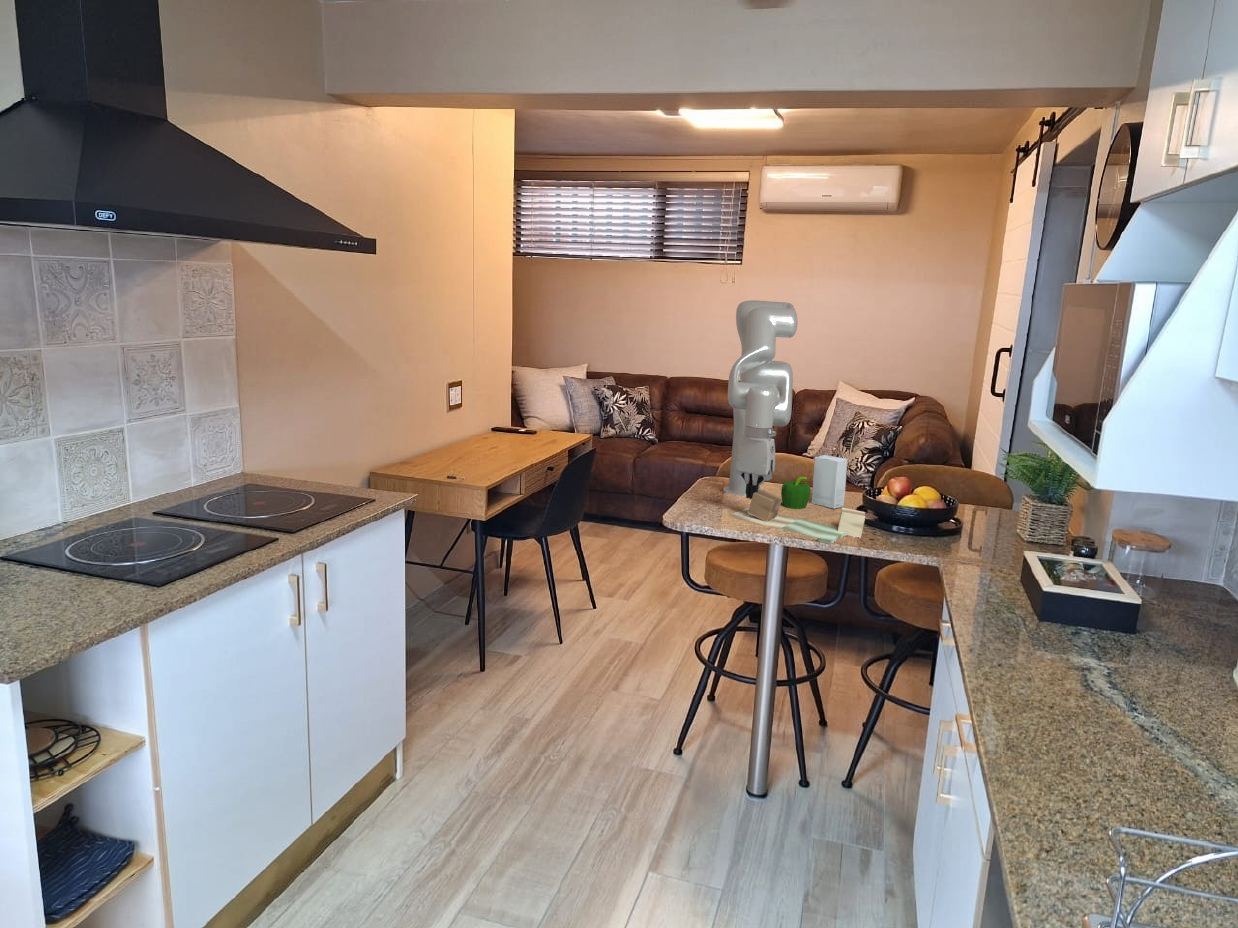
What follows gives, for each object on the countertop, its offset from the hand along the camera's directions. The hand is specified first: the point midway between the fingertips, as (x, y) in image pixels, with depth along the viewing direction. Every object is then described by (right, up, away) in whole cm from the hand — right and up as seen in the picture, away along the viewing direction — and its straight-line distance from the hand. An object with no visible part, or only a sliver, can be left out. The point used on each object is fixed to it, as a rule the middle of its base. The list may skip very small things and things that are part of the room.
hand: (751, 497), depth 226 cm
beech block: (+25, -9, -8) cm, 28 cm away
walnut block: (+3, -5, -1) cm, 6 cm away
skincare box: (+26, -3, +21) cm, 34 cm away
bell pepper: (+15, -4, +14) cm, 21 cm away
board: (+9, -8, -5) cm, 13 cm away
